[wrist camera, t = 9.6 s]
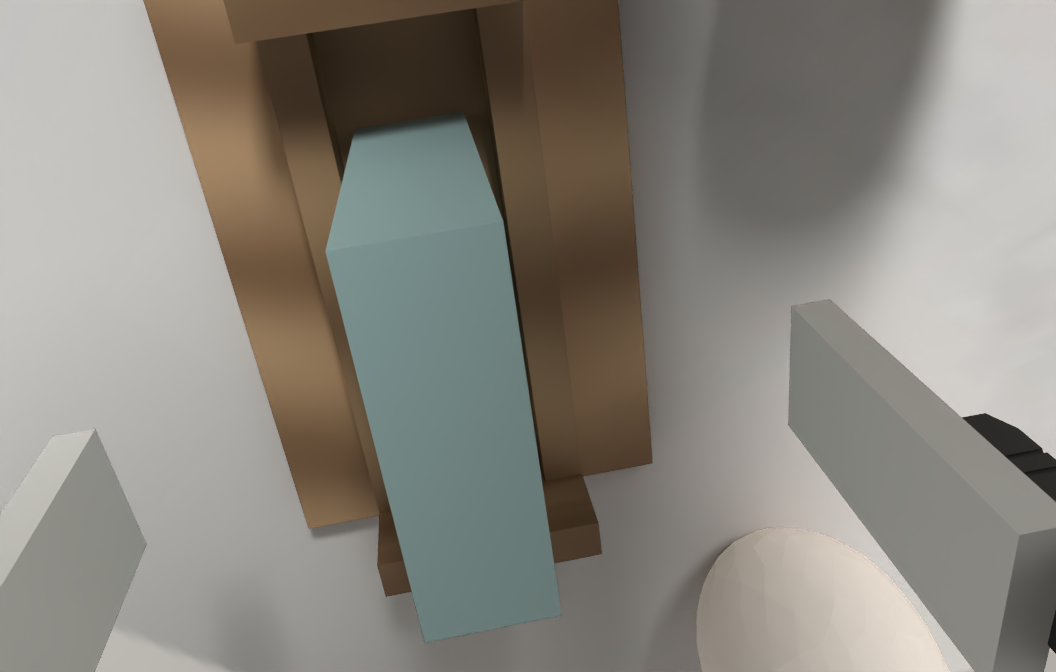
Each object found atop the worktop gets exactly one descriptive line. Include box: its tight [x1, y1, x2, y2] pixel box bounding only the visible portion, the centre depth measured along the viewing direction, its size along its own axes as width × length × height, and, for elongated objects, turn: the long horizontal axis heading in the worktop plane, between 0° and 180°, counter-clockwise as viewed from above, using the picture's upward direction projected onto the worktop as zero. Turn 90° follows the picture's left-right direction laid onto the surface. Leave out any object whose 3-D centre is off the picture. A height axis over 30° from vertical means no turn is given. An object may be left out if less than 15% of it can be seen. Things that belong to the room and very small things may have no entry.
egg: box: [697, 527, 949, 672], centre depth 28 cm, size 7×7×12 cm
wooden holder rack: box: [143, 0, 652, 597], centre depth 23 cm, size 17×12×5 cm
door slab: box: [325, 112, 562, 643], centre depth 20 cm, size 9×3×10 cm, turn 8°
